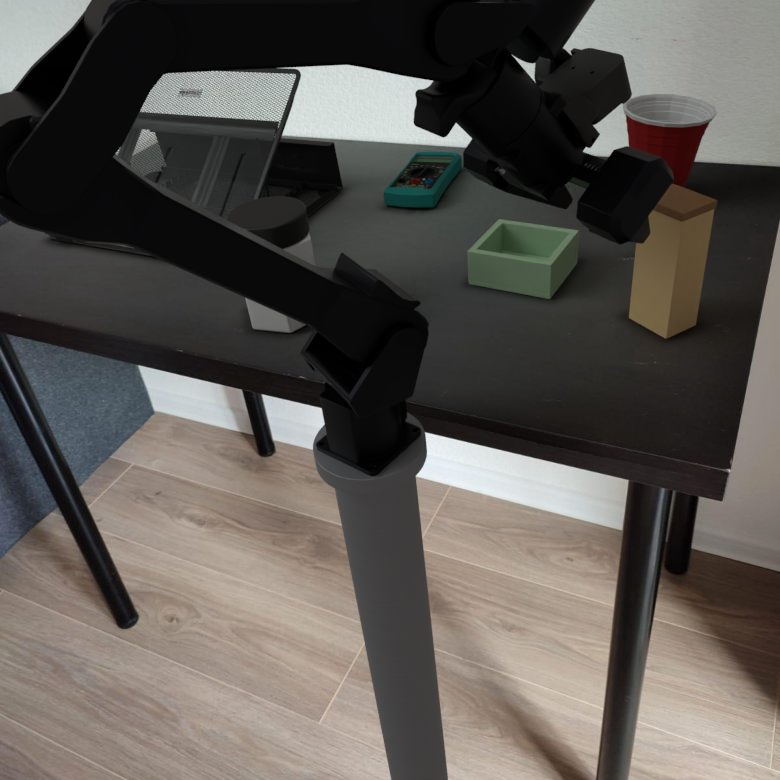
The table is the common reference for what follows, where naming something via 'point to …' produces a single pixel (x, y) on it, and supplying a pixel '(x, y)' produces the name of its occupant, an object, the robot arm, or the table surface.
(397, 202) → the digital multimeter
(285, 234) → the jar
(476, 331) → the table surface
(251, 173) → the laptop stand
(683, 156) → the plastic cup
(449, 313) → the table surface
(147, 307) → the table surface
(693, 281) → the tan rectangular block
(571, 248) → the sage green storage bin
